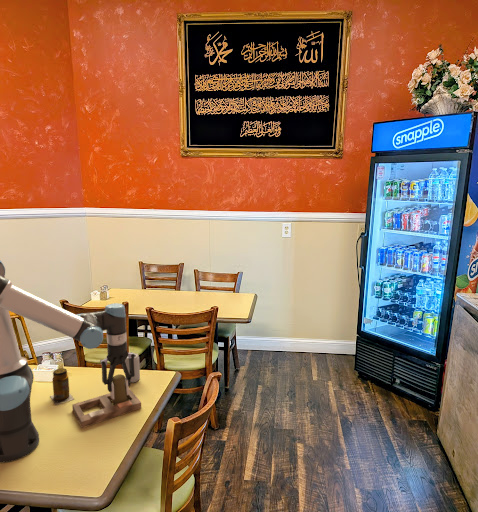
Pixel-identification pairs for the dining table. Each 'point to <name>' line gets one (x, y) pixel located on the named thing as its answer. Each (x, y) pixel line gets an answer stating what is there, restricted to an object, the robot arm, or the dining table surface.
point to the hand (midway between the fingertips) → (119, 395)
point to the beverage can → (136, 368)
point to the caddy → (104, 408)
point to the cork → (119, 389)
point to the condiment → (61, 387)
